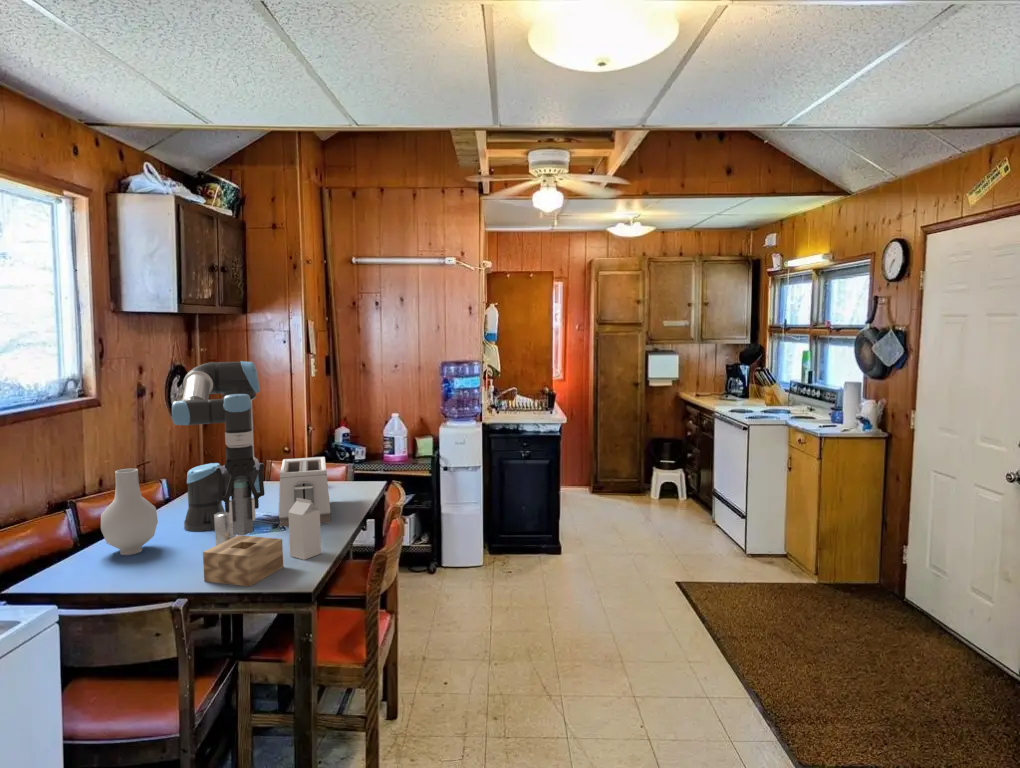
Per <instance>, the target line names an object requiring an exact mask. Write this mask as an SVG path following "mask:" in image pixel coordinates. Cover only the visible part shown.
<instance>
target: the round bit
mask: <svg viewBox="0 0 1020 768" xmlns="http://www.w3.org/2000/svg"><path fill="white" fill-rule="evenodd" d="M214 522H215V529H214V538H215V539H214V541H215V543H214V544H215V546H217V545H219V544H221V543H223V542H225V541H227V540H230V539H232V538H234V537H236V536H237V535H234V534H233V523H230V514H229V512H226V511H225V510H224V512H219V513H216V514H214Z"/></svg>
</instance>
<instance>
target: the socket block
mask: <svg viewBox="0 0 1020 768" xmlns="http://www.w3.org/2000/svg"><path fill="white" fill-rule="evenodd" d="M283 547H284V546H283V538H275V537H264V536H251V535H236V537H234V538H232V539H230V540H227V541H225V542H223V543H221V544H219V545H217V546H216V545H215V546H212V547H211V548H208V549H206V550H204V551H202V560H203V561H202V562H203V580H204V582H208V583H217V584H225V585H234V586H235V585H236V586H243V587H252V586H254V585H256V584H257V583H258V582H260V581H262V580H263V579H266V578H267V577H268V576H271V575H272V574H274V573H275V572H277V571H279V570H280V569H282V568H284V549H283ZM273 572H274V573H273Z"/></svg>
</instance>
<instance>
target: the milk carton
mask: <svg viewBox="0 0 1020 768" xmlns="http://www.w3.org/2000/svg"><path fill="white" fill-rule="evenodd" d="M288 516H289V526H288V535H289V536H288V538H289V539H288V540H289V556H290V557H292V558H297V559H299V560H303V561H304V560H308V559H310V558H312V557H315V556H318V555H321V554H322V540H321V539H322V536H321V523H320V510H319V509H318V508H316V507H315V506H314V505H313V503H312V502H311V500H306V499H301V498H296V502H295V504H294V505H293V506H292V508H291V509H290V510H289V512H288Z"/></svg>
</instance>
